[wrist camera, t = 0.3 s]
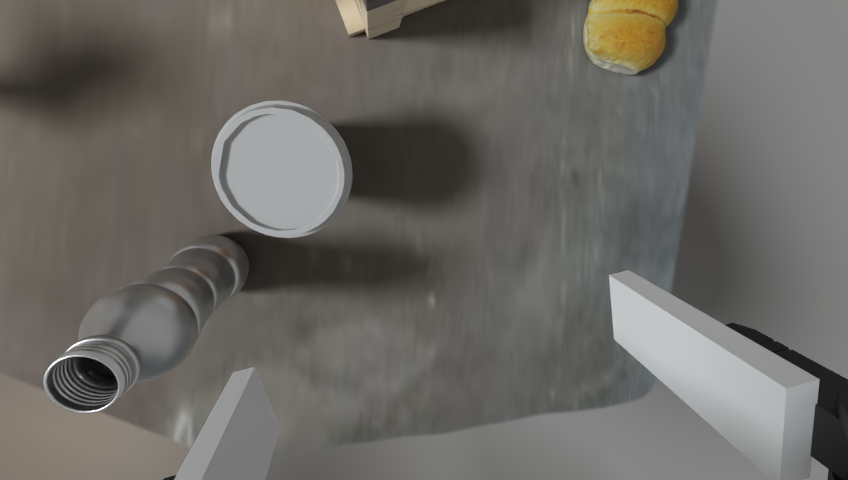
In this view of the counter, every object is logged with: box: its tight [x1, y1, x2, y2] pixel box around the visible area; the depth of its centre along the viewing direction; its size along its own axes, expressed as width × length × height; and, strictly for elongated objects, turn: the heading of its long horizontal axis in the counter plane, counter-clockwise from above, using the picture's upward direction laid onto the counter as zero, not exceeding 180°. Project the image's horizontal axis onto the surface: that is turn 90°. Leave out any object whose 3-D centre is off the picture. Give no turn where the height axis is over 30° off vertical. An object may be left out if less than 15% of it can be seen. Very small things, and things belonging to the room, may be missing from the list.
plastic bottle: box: [43, 235, 249, 413], centre depth 30 cm, size 6×7×20 cm
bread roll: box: [583, 0, 678, 75], centre depth 37 cm, size 8×9×4 cm
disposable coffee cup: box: [211, 101, 353, 238], centre depth 33 cm, size 10×10×12 cm
